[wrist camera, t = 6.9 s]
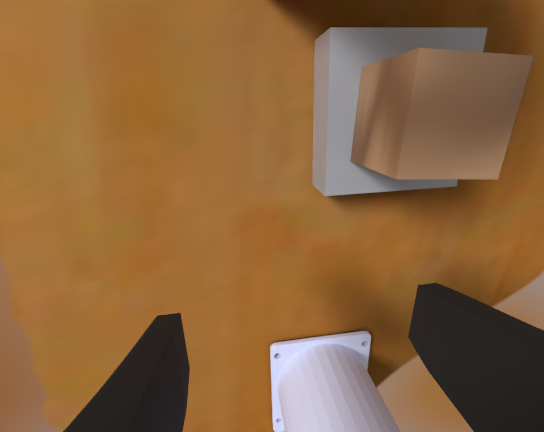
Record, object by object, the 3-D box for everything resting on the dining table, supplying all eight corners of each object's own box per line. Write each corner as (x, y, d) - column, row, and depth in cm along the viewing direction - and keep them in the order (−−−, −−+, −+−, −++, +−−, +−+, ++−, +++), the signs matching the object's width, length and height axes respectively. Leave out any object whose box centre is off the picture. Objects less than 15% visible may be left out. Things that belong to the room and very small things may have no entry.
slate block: (424, 175, 20) (456, 186, 17) (310, 183, 19) (325, 196, 16) (444, 41, 17) (487, 27, 14) (312, 42, 16) (330, 27, 13)
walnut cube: (427, 162, 16) (497, 179, 12) (350, 161, 15) (396, 179, 11) (445, 72, 14) (534, 55, 10) (361, 67, 14) (419, 47, 10)
